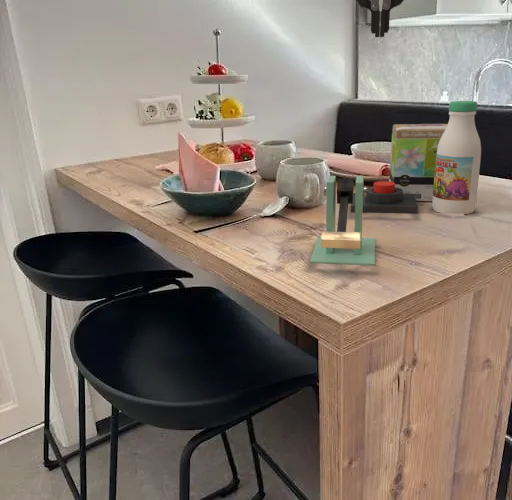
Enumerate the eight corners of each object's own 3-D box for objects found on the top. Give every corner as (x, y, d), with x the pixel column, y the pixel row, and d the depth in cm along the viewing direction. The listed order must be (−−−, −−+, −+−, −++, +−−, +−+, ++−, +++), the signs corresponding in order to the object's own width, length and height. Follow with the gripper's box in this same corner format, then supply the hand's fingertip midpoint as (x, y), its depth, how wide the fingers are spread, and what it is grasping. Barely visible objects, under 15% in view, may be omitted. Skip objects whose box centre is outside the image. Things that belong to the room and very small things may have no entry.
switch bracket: (374, 271, 69) (378, 188, 65) (309, 268, 71) (309, 187, 67) (374, 245, 79) (377, 171, 75) (317, 243, 81) (317, 171, 77)
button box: (413, 204, 101) (414, 184, 99) (417, 218, 92) (418, 197, 90) (352, 203, 103) (353, 184, 102) (350, 216, 94) (351, 196, 93)
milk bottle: (447, 202, 101) (456, 99, 94) (483, 210, 95) (496, 100, 88) (423, 210, 96) (431, 102, 90) (459, 218, 90) (470, 103, 84)
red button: (394, 190, 98) (394, 181, 97) (395, 194, 94) (395, 185, 93) (373, 189, 99) (373, 181, 98) (373, 194, 95) (373, 185, 94)
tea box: (391, 203, 102) (395, 129, 97) (388, 191, 111) (391, 123, 106) (469, 203, 100) (477, 127, 95) (459, 191, 109) (466, 121, 104)
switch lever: (359, 251, 65) (360, 238, 63) (321, 250, 66) (320, 236, 64) (363, 191, 73) (363, 178, 71) (328, 191, 74) (328, 178, 72)
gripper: (428, -88, 76) (420, 35, 82) (340, -79, 79) (339, 40, 85) (433, -103, 69) (424, 33, 75) (337, -92, 72) (336, 38, 78)
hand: (379, 36), depth 80 cm, fingers closed
